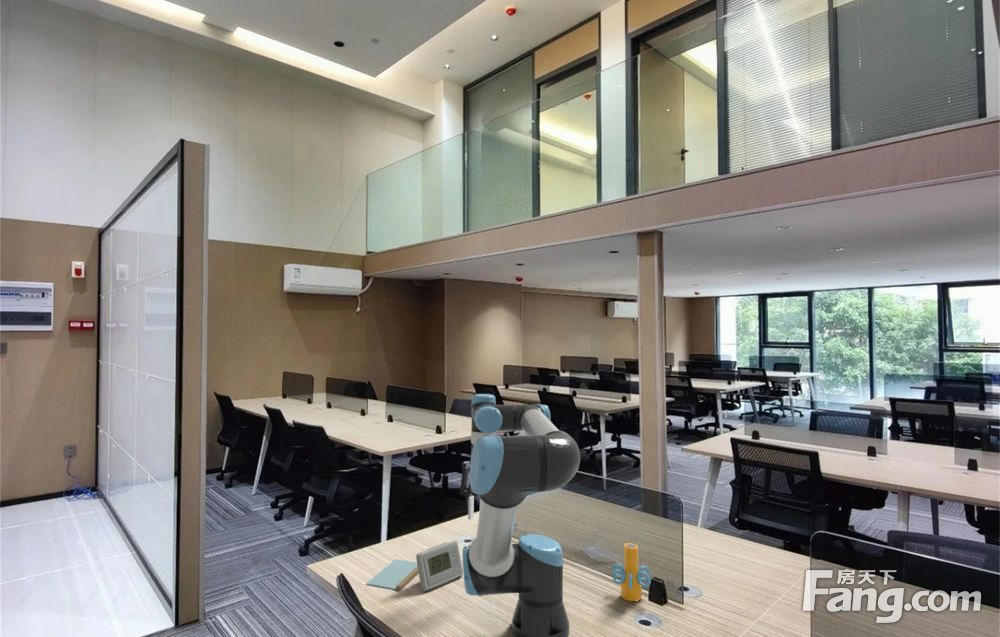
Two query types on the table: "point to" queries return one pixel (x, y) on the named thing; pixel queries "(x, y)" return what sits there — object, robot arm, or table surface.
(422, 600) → the table surface
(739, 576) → the table surface
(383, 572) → the mat
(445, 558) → the digital clock
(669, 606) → the table surface
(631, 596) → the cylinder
